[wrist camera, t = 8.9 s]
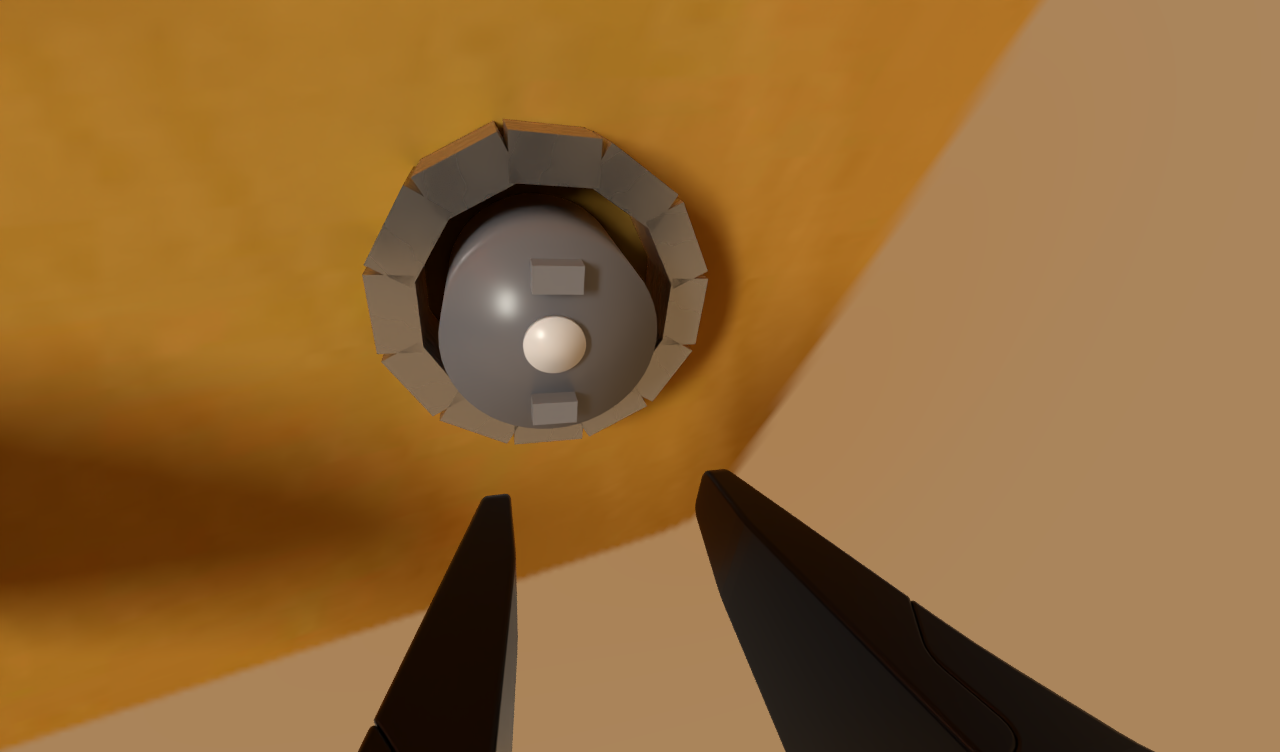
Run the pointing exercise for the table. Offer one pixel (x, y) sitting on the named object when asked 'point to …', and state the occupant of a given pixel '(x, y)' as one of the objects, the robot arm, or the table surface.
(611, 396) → the cap
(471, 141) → the segmented ring
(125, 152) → the table surface
